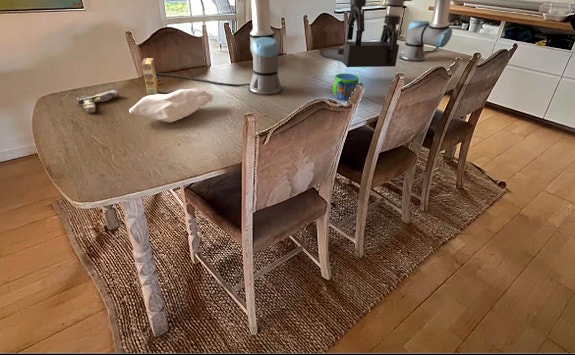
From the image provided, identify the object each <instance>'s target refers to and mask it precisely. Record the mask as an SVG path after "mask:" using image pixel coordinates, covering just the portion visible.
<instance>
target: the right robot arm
mask: <svg viewBox="0 0 575 355" xmlns="http://www.w3.org/2000/svg"><path fill="white" fill-rule="evenodd" d="M404 2H412V0H387V4H386V9H385V16H384V20H383V21H384V24H383V26H382V32H381V35H380V40H379V41H383V42H387V41H389V50H388V54H387V60H386V64H391V62H392V57H393V51H396V47H397V44H398V36H399V31H400V30H399V29H397V25H400V22H401V15H402V11H403V6H404ZM451 3H452V0H434V6H433V11H432V18H431V21H430V20H414V21H410V22H409V24H408V28H407V33H406V38H405V43H404V47H403V48H402V50H401V52H400V53H399V59H401V60H404V61H408V62H423V61H424V59H425V53H434V52H436V51H437V50H438V49H440V48H444V47H445V46H446V45H447V44H448V43H449V42H450V39H451V38H452V36H453V28H452V27H450V25H451V23H450V22H449V15H450V14H449V13H450V9H451ZM425 45H427V46H432V47H435V49H432V50H424V47H425ZM436 48H437V49H436Z"/></svg>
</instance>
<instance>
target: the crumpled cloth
mask: <svg viewBox="0 0 575 355" xmlns="http://www.w3.org/2000/svg"><path fill="white" fill-rule="evenodd" d="M213 97H214V96H213V94H212V93H210V92H208V91H206V90H203V89H201V88H187V89H186V88H185V89H184V88H183V89H177V90H175V91H173V92H171V93H167V94H163V93H158V94H156V95H150V96H148V95H146V96H144V97H142V98H141V99H140V100H139V101H138V102H137V103H136V104H134V105H133V106H132V107H131V108H129V114H130V115H135V116H140V117H145V118H146V119H149V120H152V121H155V120H158V121H163V122H166V123H174V122H176V121H178V120H181V119H183V118H185V117H188V116H190V115H192V114H193V113H195V112H196V111H197V110H199V109H200V108H202V107H204V106H206V105H207V104H210V102H211V101H212V100H213V99H214V98H213Z"/></svg>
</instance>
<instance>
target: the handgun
mask: <svg viewBox="0 0 575 355" xmlns="http://www.w3.org/2000/svg"><path fill="white" fill-rule="evenodd" d="M119 96H120V94H119V92H118V91H117V90H116V89H112V90H108V91H105V92H104V91H103V92H101V93H96V94H94V95H86V94H85V95H84V94H83V95H81V96H80V97H77V98H76V101H77V104H78V105H82V108H83V109H84V110H85V113H87V114H91V113H95V112H96V104H95V103H98V102H106V101H109V100H111V99H113V98H117V97H119Z"/></svg>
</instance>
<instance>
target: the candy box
mask: <svg viewBox="0 0 575 355" xmlns="http://www.w3.org/2000/svg"><path fill="white" fill-rule="evenodd" d="M141 66H142V73H143V78H144V82H145V87H146V92H147V96H150V95H156V94H159V91H160V90H159V84H158V79H157V75H156V73H157V72H156V66H155V62H154V58H153V57H151V58H150V57H149V58H146V57H145V58H143V60H142V63H141Z"/></svg>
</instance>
